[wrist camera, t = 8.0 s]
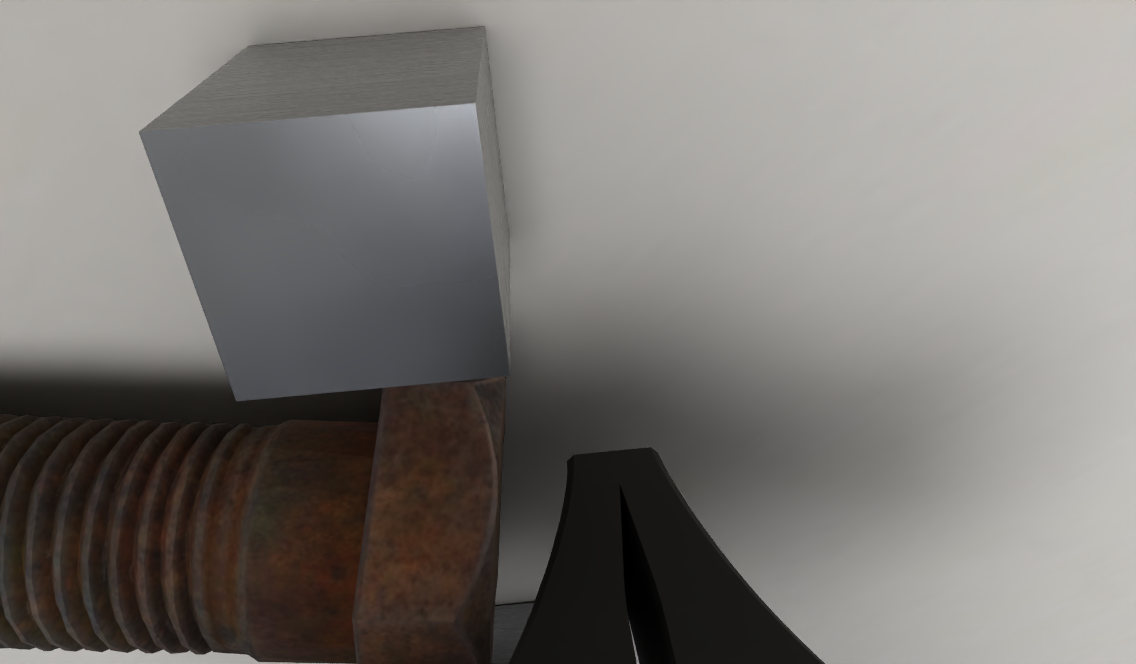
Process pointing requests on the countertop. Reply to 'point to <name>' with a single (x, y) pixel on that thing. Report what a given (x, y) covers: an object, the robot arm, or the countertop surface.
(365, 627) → the bolt
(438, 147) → the gray stone cubes
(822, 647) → the countertop surface
